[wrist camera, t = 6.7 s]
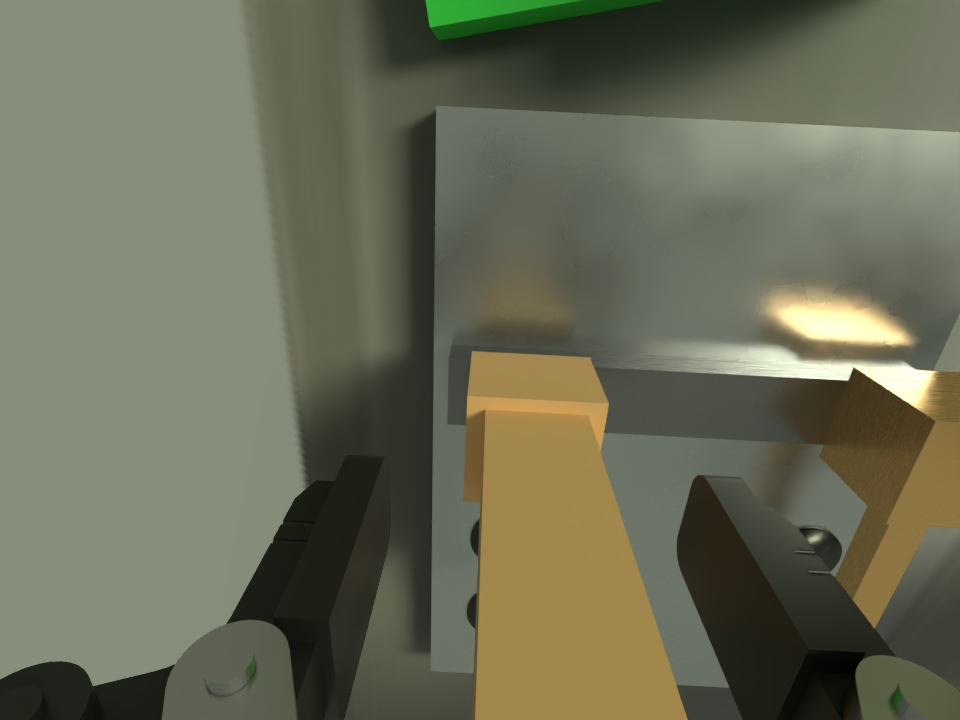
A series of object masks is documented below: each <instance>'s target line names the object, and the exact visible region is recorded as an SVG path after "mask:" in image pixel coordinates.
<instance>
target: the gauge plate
mask: <svg viewBox="0 0 960 720" xmlns="http://www.w3.org/2000/svg"><path fill="white" fill-rule="evenodd" d="M959 313H960V132H943V131H923V130H903V129H884V128H864V127H844V126H825V125H805V124H785V123H766V122H746V121H726V120H707V119H687V118H667V117H648V116H628V115H608V114H589V113H569V112H549V111H530V110H510V109H490V108H470V107H451V106H436V178H435V281H434V383H433V485H432V588H431V671H439V672H457V673H474V650H475V624H476V599H477V573H478V548H479V522H480V502H469V501H463V490H464V466H465V442H466V417H467V395H468V385H469V375H470V366H471V356H472V351H479V352H497V353H516V354H535V355H554V356H573V357H590V359H591V362H592V364H593V366H594V369H595V371H596V374H597V376H598V378H599V381H600V383H601V386H602V388H603V390H604V393H605V395H606V398H607V400H608V402H609V407H608V412H607V418H606V424H605V430H604V436H603V441H602V447H601V456H602V459H603V462H604V465H605V468H606V471H607V474H608V477H609V480H610V483H611V486H612V489H613V492H614V496H615V499H616V502H617V505H618V508H619V511H620V514H621V517H622V520H623V523H624V526H625V529H626V532H627V535H628V538H629V541H630V545H631V548H632V551H633V554H634V557H635V560H636V563H637V566H638V569H639V572H640V575H641V578H642V581H643V584H644V587H645V590H646V594H647V597H648V600H649V603H650V606H651V609H652V612H653V615H654V618H655V621H656V624H657V627H658V630H659V633H660V636H661V639H662V643H663V646H664V649H665V652H666V655H667V658H668V661H669V664H670V667H671V670H672V673H673V676H674V679H675V682H676V685H687V686H705V687H723V688H729V685H728V683H727V681H726V678H725V676H724V673H723V671H722V669H721V666H720V664H719V662H718V659H717V657H716V654H715V652H714V650H713V647H712V645H711V642H710V640H709V638H708V635H707V633H706V631H705V628H704V626H703V623H702V621H701V619H700V616H699V614H698V612H697V609H696V607H695V604H694V602H693V600H692V597H691V595H690V593H689V590H688V588H687V585H686V583H685V581H684V578H683V576H682V573H681V571H680V568H679V564H678V559H677V537H678V533H679V529H680V525H681V522H682V518H683V514H684V510H685V507H686V503H687V499H688V496H689V492H690V488H691V485H692V482H693V480H694V478H695V477H696V476H697V475H710V476H728V477H739V478H741V479H743V480H744V481H745V482H746V484H747V485H748V487H749V488H750V489H751V491H752V492H753V494H754V495H755V496H756V498H757V499H758V501H759V502H760V504H761V505H762V506H771V507H772V508H774V509H775V510H776V511H777V512H779V513H780V514H781V515H783V516H784V517H785V518H786V519H788V520H789V521H790V522H792V523H793V524H794V525H795V526H797V527H798V529H799V530H800V531H801V533H802V534H803V535H804V537H805V538H806V539H807V540H808V542H809V543H810V544H811V546H812V547H813V548H814V550H815V555H819V556H820V558H821V559H822V560H823V562H824V563H825V564H826V565H827V567H828V568H829V569H830V574H831V576H835V577H836V579H837V580H838V581H839V583H840V584H841V585H842V587H843V588H844V589H845V590H846V592H847V593H848V594H849V596H850V597H851V598H852V600H853V601H854V602H855V604H856V605H857V606H858V608H859V609H860V610H861V612H862V613H863V614H864V615H865V617H866V618H867V619H868V621H869V622H870V623H871V625H872V626H873V627H874V629H875V627H876V625H877V623H878V621H879V620H880V618H881V616H882V614H883V612H884V610H885V608H886V606H887V604H888V603H889V601H890V599H891V597H892V595H893V593H894V591H895V589H896V587H897V586H898V584H899V582H900V580H901V578H902V576H903V574H904V572H905V570H906V569H907V567H908V565H909V563H910V561H911V559H912V557H913V555H914V553H915V552H916V550H917V548H918V546H919V544H920V542H921V540H922V538H923V536H924V535H925V533H926V531H927V529H928V527H944V528H960V372H941V371H933V370H934V368H935V365H936V363H937V361H938V359H939V357H940V354H941V352H942V350H943V348H944V346H945V344H946V341H947V339H948V337H949V335H950V333H951V330H952V328H953V326H954V324H955V322H956V320H957V317H958V315H959Z"/></svg>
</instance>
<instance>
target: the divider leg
mask: <svg viewBox="0 0 960 720" xmlns="http://www.w3.org/2000/svg"><path fill="white" fill-rule="evenodd" d="M608 407H609V402H608V400H607V398H606V395H605V393H604V390H603V388H602V386H601V383H600V381H599V378H598V376H597V374H596V371H595V369H594V366H593V364H592V362H591V359H590V357H573V356H554V355H535V354H516V353H497V352H479V351H472V356H471V366H470V375H469V385H468V395H467V417H466V442H465V466H464V490H463V501H469V502H480V522H479V548H478V573H477V599H476V624H475V650H474V676H473V701H472V720H688V719H687V716H686V713H685V710H684V707H683V704H682V701H681V698H680V695H679V692H678V688H677V685H676V682H675V679H674V676H673V673H672V670H671V667H670V664H669V661H668V658H667V655H666V652H665V649H664V646H663V643H662V639H661V636H660V633H659V630H658V627H657V624H656V621H655V618H654V615H653V612H652V609H651V606H650V603H649V600H648V597H647V594H646V590H645V587H644V584H643V581H642V578H641V575H640V572H639V569H638V566H637V563H636V560H635V557H634V554H633V551H632V548H631V545H630V541H629V538H628V535H627V532H626V529H625V526H624V523H623V520H622V517H621V514H620V511H619V508H618V505H617V502H616V499H615V496H614V492H613V489H612V486H611V483H610V480H609V477H608V474H607V471H606V468H605V465H604V462H603V459H602V456H601V447H602V441H603V436H604V430H605V424H606V418H607V412H608Z"/></svg>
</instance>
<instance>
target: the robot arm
mask: <svg viewBox="0 0 960 720" xmlns="http://www.w3.org/2000/svg"><path fill="white" fill-rule="evenodd" d="M389 534H390V497H389V468H388V460H387V458H386V457H375V456H356V455H348V456H346V458H345V460H344V462H343V464H342V466H341V468H340V470H339V473H338V475H337V477H336V479H335V481H317V480H316V481H315V482H314V483H313V484H311V485H310V486H309V487H308V488H307V489H306V490H304V491H303V492H302V493H301V494H300V495H299V496H297V497H296V498H295V500H294V501H293V503H292V505H291V507H290V509H289V511H288V512H287V514H286V516H285V518H284V520H283V525H280V527H279V529H278V531H277V533H276V535H275V536H274V539H273V543H271V544H270V546H269V548H268V550H267V551H266V553H265V555H264V557H263V559H262V561H261V562H260V564H259V566H258V568H257V570H256V572H255V573H254V575H253V577H252V579H251V581H250V583H249V585H248V586H247V588H246V590H245V592H244V594H243V596H242V597H241V599H240V601H239V603H238V605H237V607H236V609H235V610H234V612H233V614H232V616H231V618H230V619H229V621H228V622H227V624H226V625H223V626H220V627H218V628H216V629H214V630H212V631H210V632H209V633H207V634H206V635H204V636H203V637H201V638H200V639H198V640H197V641H196V642H195V643H194V644H192V645H191V646H190V647H189V648H188V649H187V650H186V651H185V652H184V653H183V655H182V656H181V657H180V658H179V660H178V661H177V662H176V664H175V665H172V666H170V667H167V668H164V669H161V670H157V671H154V672H150V673H146V674H142V675H138V676H134V677H129V678H125V679H121V680H117V681H113V682H109V683H105V684H101V685H97V686H93V685H92V683H91V681H90V678H89V676H88V674H87V673H86V671H85V670H84V669H82V668H81V667H80V666H78V665H76V664H73V663H69V662H62V661H59V662H47V663H42V664H37V665H34V666H30V667H28V668H24V669H22V670H20V671H17V672H15V673H12V674H10V675H8V676H6V677H4V678H2V679H0V720H344V718H345V714H346V710H347V706H348V703H349V699H350V695H351V691H352V687H353V683H354V679H355V675H356V671H357V667H358V663H359V659H360V656H361V652H362V648H363V644H364V640H365V636H366V632H367V628H368V624H369V620H370V616H371V612H372V609H373V605H374V601H375V597H376V593H377V589H378V585H379V581H380V577H381V573H382V569H383V565H384V562H385V558H386V554H387V549H388V543H389ZM677 559H678V564H679V568H680V571H681V573H682V576H683V578H684V581H685V583H686V585H687V588H688V590H689V593H690V595H691V597H692V600H693V602H694V604H695V607H696V609H697V612H698V614H699V616H700V619H701V621H702V623H703V626H704V628H705V631H706V633H707V635H708V638H709V640H710V642H711V645H712V647H713V650H714V652H715V654H716V657H717V659H718V662H719V664H720V666H721V669H722V671H723V673H724V676H725V678H726V681H727V683H728V685H729V688H730V690H731V692H732V695H733V697H734V700H735V702H736V704H737V707H738V709H739V712H740V714H741V716H742V719H743V720H960V692H959V691H958V690H957V689H956V688H955V687H953V686H952V685H951V684H949V683H948V682H947V681H945V680H944V679H942V678H941V677H939V676H938V675H936V674H934V673H933V672H931V671H929V670H927V669H925V668H924V667H922V666H920V665H917V664H915V663H913V662H910V661H908V660H904V659H901V658H898V657H896V656H895V655H894V654H893V652H892V651H891V650H890V648H889V647H888V646H887V644H886V643H885V642H884V640H883V639H882V638H881V637H880V635H879V634H878V633H877V631H876V630H875V629H874V627H873V626H872V625H871V623H870V622H869V621H868V619H867V618H866V617H865V615H864V614H863V613H862V612H861V610H860V609H859V608H858V606H857V605H856V604H855V602H854V601H853V600H852V598H851V597H850V596H849V594H848V593H847V592H846V590H845V589H844V588H843V587H842V585H841V584H840V583H839V581H838V580H837V579H836V577H835V576H831V574H830V569H829V568H828V567H827V565H826V564H825V563H824V562H823V560H822V559H821V558H820V556H819V555H815V550H814V548H813V547H812V546H811V544H810V543H809V542H808V540H807V539H806V538H805V537H804V535H803V534H802V533H801V531H800V530H799V529H798V527H797V526H795V525H794V524H793V523H792V522H790V521H789V520H788V519H786V518H785V517H784V516H783V515H781V514H780V513H779V512H777V511H776V510H775V509H774V508H772V507H771V506H762V505H761V504H760V502H759V501H758V499H757V498H756V496H755V495H754V494H753V492H752V491H751V489H750V488H749V487H748V485H747V484H746V482H745V481H744V480H743V479H741V478H739V477H728V476H710V475H697V476H696V477H695V478H694V480H693V482H692V485H691V488H690V492H689V496H688V499H687V503H686V507H685V510H684V514H683V518H682V522H681V525H680V529H679V533H678V537H677Z"/></svg>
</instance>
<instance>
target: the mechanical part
mask: <svg viewBox="0 0 960 720" xmlns="http://www.w3.org/2000/svg"><path fill="white" fill-rule="evenodd" d="M425 1H426V7H427V13H428V20H429V26H430V29H431V30H432V32H433V33H434V35H435V37H436V38H437V40H438V41H442V40H447V39H453V38H458V37H464V36H470V35H475V34H481V33H486V32H492V31H498V30H503V29H509V28H515V27H520V26H526V25H531V24H537V23H543V22H548V21H554V20H559V19H565V18H571V17H576V16H582V15H588V14H593V13H599V12H604V11H610V10H616V9H621V8H627V7H633V6H638V5H644V4H649V3H655V2H661V1H666V0H425Z"/></svg>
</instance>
